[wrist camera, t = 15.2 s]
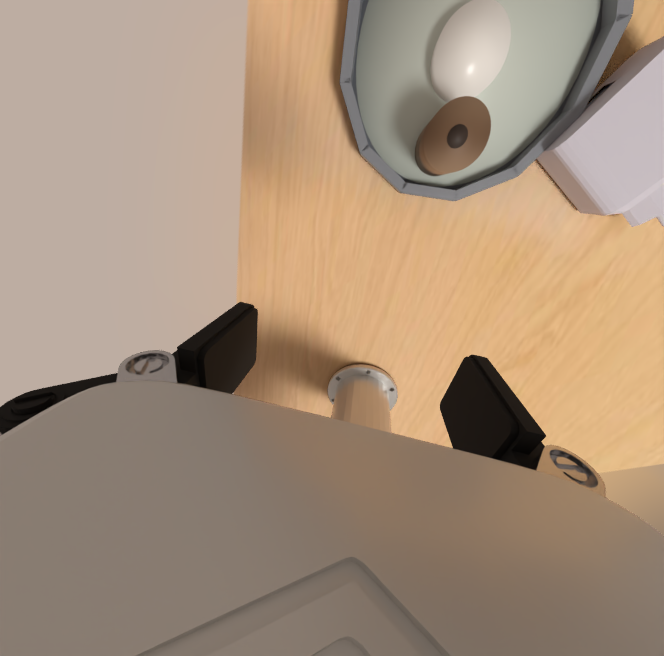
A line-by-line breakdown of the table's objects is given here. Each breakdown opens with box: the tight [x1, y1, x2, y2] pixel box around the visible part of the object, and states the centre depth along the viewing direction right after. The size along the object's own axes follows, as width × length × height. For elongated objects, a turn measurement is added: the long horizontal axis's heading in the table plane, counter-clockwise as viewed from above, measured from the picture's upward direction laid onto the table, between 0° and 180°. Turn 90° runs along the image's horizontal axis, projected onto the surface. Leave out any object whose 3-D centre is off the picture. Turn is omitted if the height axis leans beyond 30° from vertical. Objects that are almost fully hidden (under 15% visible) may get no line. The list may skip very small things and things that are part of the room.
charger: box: [537, 37, 664, 227], centre depth 23 cm, size 5×9×15 cm
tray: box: [340, 0, 634, 201], centre depth 22 cm, size 22×22×2 cm
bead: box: [415, 96, 491, 176], centre depth 23 cm, size 5×5×6 cm
